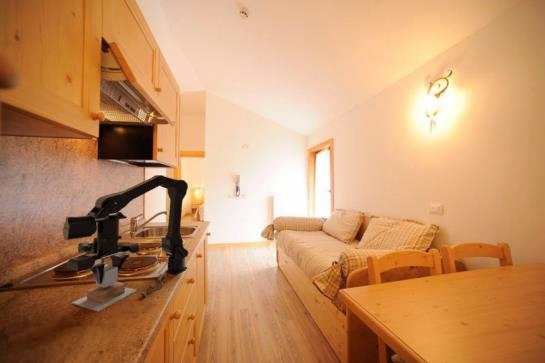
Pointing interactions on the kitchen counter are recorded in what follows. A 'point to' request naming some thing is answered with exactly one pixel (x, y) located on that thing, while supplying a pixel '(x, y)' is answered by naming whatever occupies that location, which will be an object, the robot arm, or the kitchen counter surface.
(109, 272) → the grey block
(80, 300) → the build mat
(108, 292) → the plinth
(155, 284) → the wooden post with brackets
